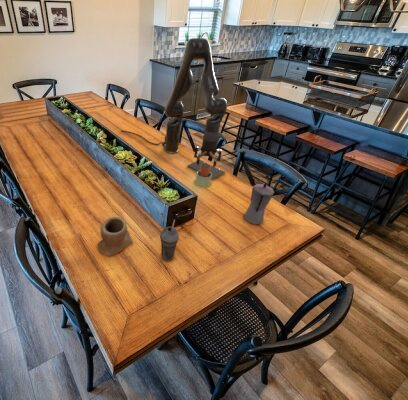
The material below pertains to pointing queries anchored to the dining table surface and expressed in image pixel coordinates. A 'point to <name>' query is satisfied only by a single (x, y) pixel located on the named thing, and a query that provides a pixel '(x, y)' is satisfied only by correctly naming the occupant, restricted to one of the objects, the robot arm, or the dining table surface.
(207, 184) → the cup
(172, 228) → the beverage cup
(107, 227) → the stone cup
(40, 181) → the dining table surface
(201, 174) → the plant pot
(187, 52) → the robot arm
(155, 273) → the dining table surface
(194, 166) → the slate board
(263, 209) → the moka pot
